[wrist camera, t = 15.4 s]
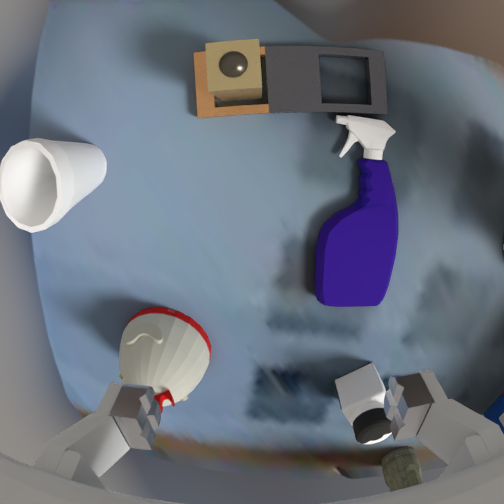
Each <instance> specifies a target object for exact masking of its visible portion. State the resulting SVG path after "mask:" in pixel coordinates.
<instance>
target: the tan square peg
mask: <svg viewBox="0 0 504 504" xmlns="http://www.w3.org/2000/svg"><path fill="white" fill-rule="evenodd" d="M205 47H206V65H207V82H208V92H209V93H211V94H212V95H214V96H215V97H217V98H218V99H220V100H221V101H236V100H251V99H262V77H261V61H260V47H259V39H247V40H233V41H222V42H213V43H205Z"/></svg>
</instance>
